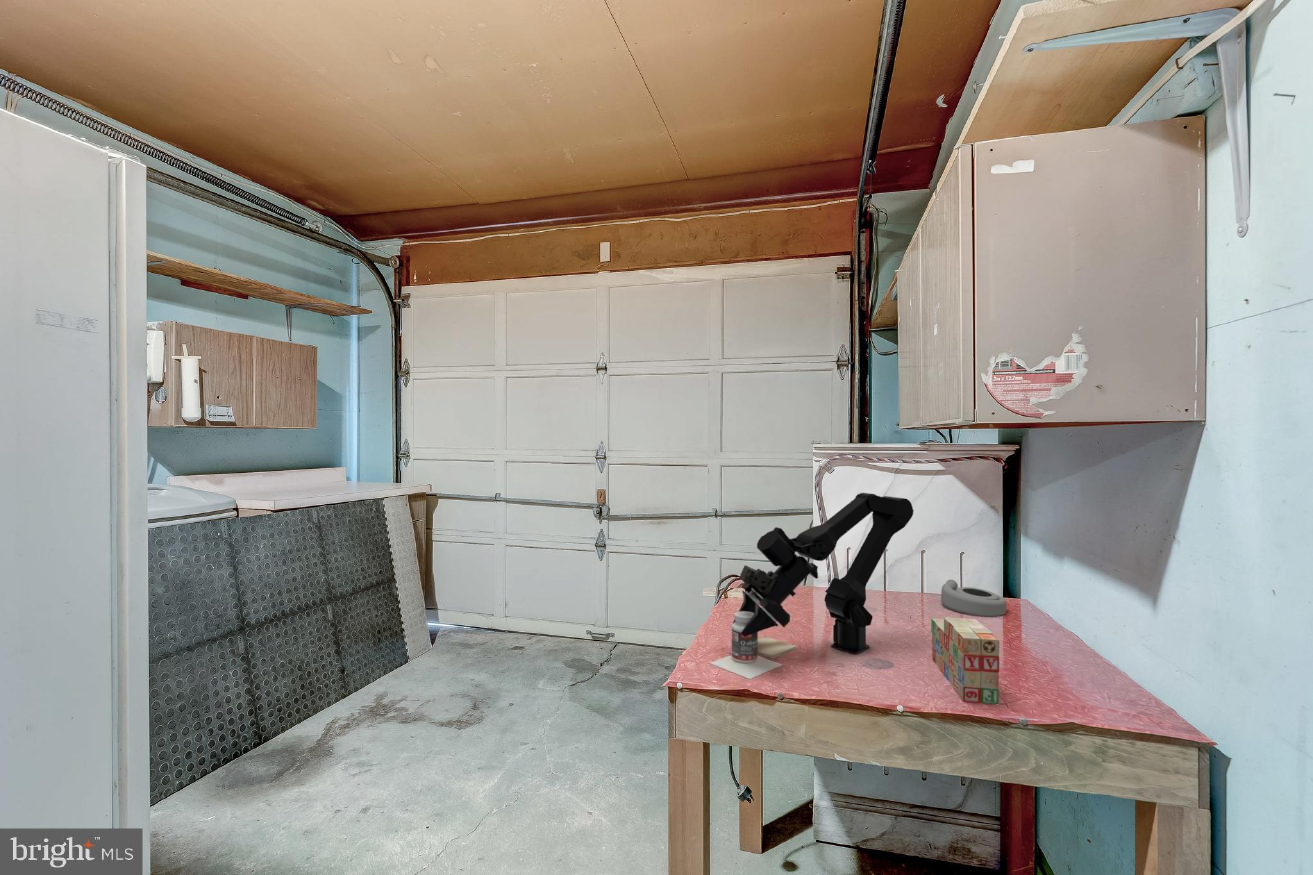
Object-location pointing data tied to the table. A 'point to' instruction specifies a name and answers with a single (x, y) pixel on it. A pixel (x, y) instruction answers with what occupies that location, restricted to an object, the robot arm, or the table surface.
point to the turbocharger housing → (972, 600)
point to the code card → (746, 666)
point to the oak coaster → (773, 647)
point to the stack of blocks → (967, 658)
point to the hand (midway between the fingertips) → (738, 629)
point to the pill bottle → (743, 639)
